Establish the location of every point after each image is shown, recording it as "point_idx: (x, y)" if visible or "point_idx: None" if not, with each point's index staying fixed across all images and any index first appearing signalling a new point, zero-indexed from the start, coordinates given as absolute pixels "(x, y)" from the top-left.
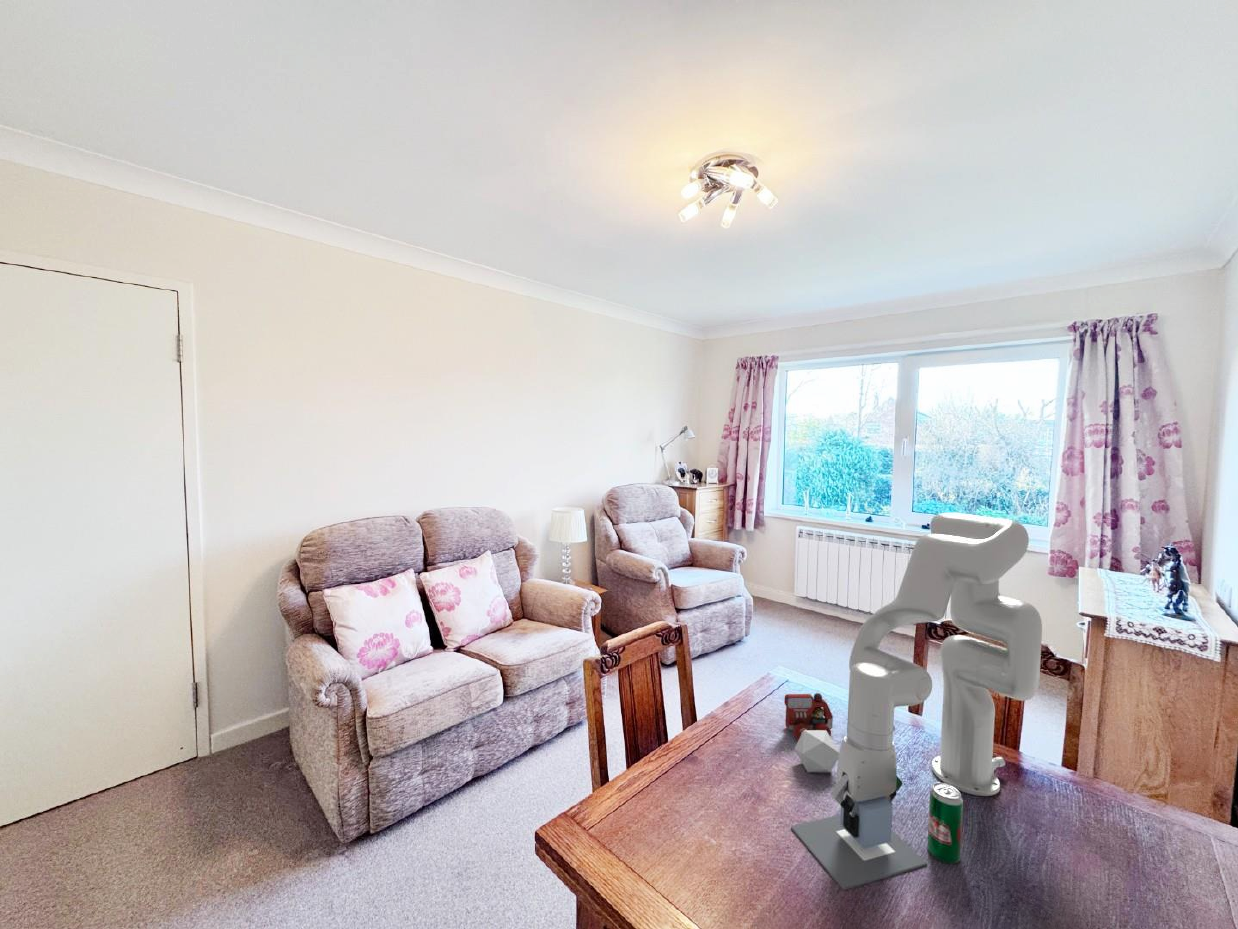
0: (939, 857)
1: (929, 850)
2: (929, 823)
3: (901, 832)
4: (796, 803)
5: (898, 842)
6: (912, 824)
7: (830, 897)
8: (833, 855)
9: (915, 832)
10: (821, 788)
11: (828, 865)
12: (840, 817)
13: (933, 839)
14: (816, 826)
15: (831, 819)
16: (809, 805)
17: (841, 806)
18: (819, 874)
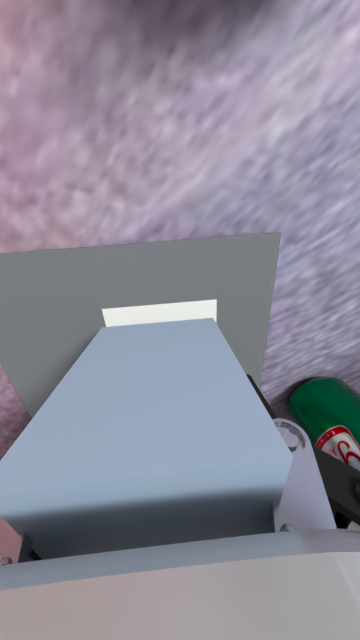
0: (290, 416)
1: (292, 397)
2: (348, 458)
3: (290, 333)
4: (4, 110)
5: (247, 368)
6: (346, 316)
7: (11, 437)
8: (53, 375)
9: (323, 339)
10: (190, 12)
11: (27, 395)
12: (90, 342)
13: (312, 438)
14: (41, 277)
15: (113, 258)
16: (66, 144)
17: (68, 376)
18: (4, 399)
